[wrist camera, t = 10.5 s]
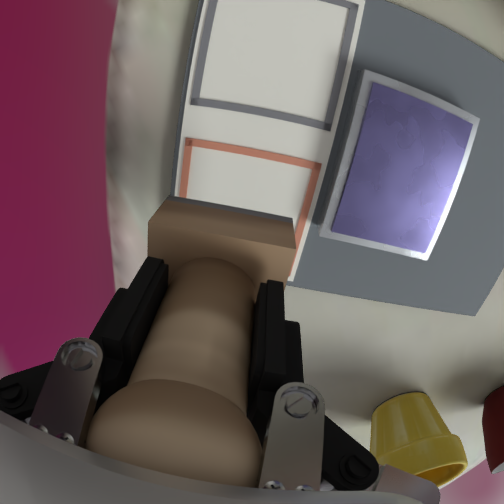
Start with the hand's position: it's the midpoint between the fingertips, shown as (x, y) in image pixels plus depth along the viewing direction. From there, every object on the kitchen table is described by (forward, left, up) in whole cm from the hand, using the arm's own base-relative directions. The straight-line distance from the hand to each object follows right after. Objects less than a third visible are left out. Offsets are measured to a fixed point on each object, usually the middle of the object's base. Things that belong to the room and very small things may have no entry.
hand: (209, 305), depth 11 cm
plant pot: (+18, +21, -9) cm, 29 cm away
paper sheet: (-5, 0, -9) cm, 10 cm away
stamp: (0, 0, -3) cm, 3 cm away
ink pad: (-5, +8, -9) cm, 13 cm away
